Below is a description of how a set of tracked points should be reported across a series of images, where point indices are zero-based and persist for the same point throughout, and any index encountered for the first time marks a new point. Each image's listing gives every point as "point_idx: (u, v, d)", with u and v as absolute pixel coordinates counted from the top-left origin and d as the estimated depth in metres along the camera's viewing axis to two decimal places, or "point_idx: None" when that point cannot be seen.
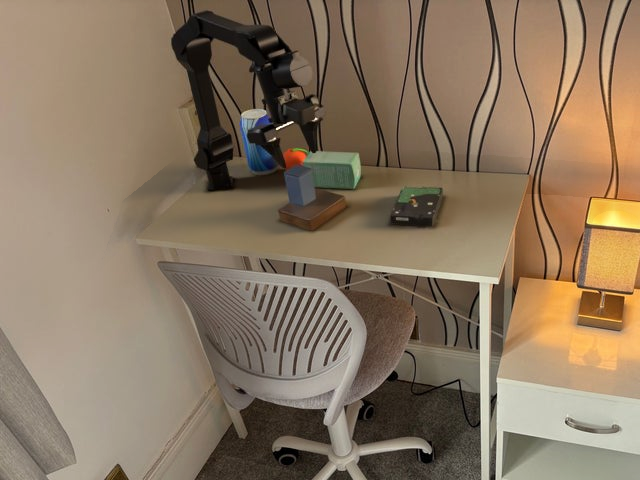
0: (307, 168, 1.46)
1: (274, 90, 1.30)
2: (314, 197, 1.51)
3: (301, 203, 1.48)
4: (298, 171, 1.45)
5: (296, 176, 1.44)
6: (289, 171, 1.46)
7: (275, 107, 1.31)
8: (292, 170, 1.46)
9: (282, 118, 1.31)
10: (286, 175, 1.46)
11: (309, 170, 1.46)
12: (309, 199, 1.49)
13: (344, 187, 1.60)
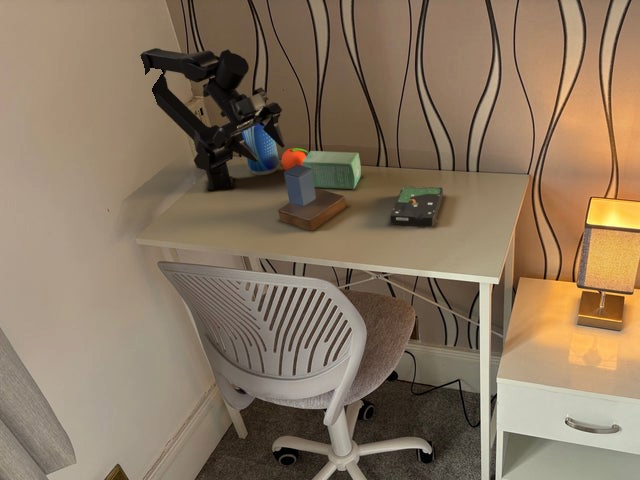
0: (307, 168, 1.46)
1: (224, 96, 1.44)
2: (314, 197, 1.51)
3: (301, 203, 1.48)
4: (298, 171, 1.45)
5: (296, 176, 1.44)
6: (289, 171, 1.46)
7: (231, 110, 1.44)
8: (292, 170, 1.46)
9: (238, 116, 1.43)
10: (286, 175, 1.46)
11: (309, 170, 1.46)
12: (309, 199, 1.49)
13: (344, 187, 1.60)
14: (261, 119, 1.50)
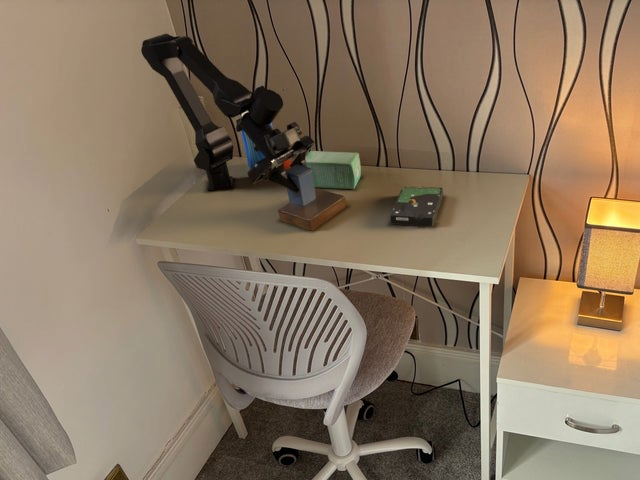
0: (307, 168, 1.46)
1: (258, 131, 1.44)
2: (314, 197, 1.51)
3: (301, 203, 1.48)
4: (298, 171, 1.45)
5: (296, 176, 1.44)
6: (289, 171, 1.46)
7: (265, 145, 1.44)
8: (292, 170, 1.46)
9: (273, 151, 1.43)
10: None
11: (309, 170, 1.46)
12: (309, 199, 1.49)
13: (344, 187, 1.60)
14: (288, 156, 1.48)
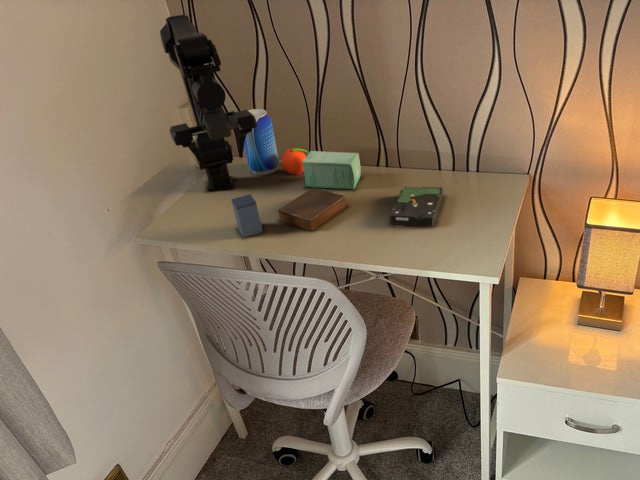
0: (252, 201, 1.41)
1: None
2: (260, 231, 1.45)
3: (242, 234, 1.44)
4: (242, 202, 1.41)
5: (235, 207, 1.40)
6: (235, 200, 1.42)
7: (199, 113, 1.37)
8: (239, 199, 1.42)
9: (201, 126, 1.38)
10: (232, 203, 1.43)
11: (253, 203, 1.41)
12: (252, 232, 1.45)
13: (344, 187, 1.60)
14: None
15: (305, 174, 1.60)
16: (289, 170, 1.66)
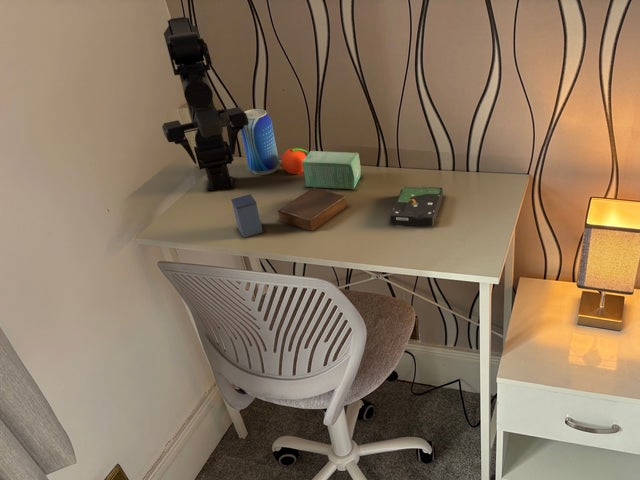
0: (252, 201, 1.41)
1: None
2: (260, 231, 1.45)
3: (242, 234, 1.44)
4: (242, 202, 1.41)
5: (235, 207, 1.40)
6: (235, 200, 1.42)
7: (191, 110, 1.40)
8: (239, 199, 1.42)
9: (193, 123, 1.40)
10: (232, 203, 1.43)
11: (253, 203, 1.41)
12: (252, 232, 1.45)
13: (344, 187, 1.60)
14: None
15: (305, 174, 1.60)
16: (289, 170, 1.66)
